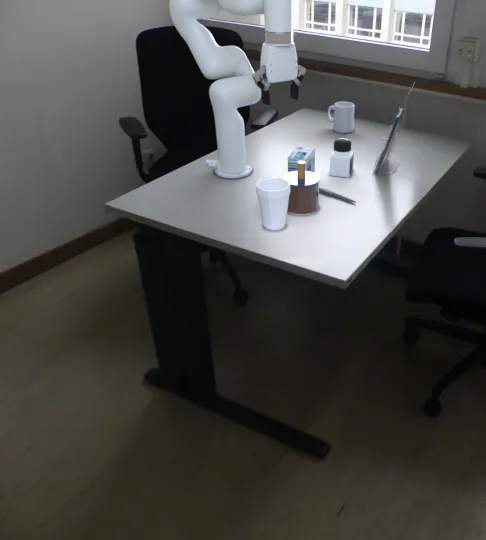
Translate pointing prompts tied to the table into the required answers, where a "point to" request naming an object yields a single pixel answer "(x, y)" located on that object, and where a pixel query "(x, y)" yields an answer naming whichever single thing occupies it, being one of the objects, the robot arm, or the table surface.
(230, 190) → the table surface
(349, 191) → the table surface
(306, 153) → the light bulb box
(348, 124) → the mug
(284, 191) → the foam cup
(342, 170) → the medicine bottle
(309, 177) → the lid
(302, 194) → the brown cup
